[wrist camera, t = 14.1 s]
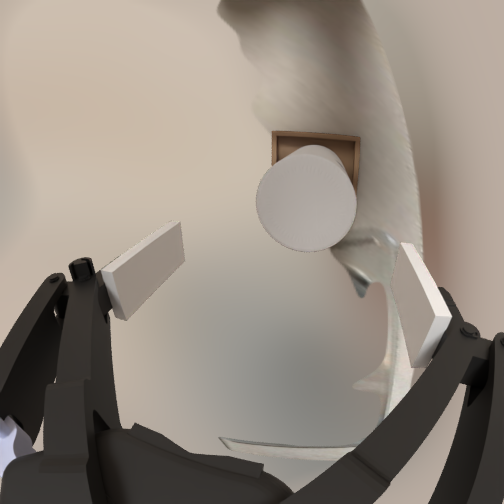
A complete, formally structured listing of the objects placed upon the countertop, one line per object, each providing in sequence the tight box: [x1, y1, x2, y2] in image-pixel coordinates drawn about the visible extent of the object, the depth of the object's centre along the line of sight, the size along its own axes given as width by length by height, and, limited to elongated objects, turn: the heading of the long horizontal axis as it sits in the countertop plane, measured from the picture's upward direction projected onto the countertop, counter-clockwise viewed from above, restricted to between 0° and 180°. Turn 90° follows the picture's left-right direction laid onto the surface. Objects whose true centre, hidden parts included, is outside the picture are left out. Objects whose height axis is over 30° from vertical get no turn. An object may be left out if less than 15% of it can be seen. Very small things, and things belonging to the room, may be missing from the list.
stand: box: [272, 131, 360, 195], centre depth 43 cm, size 14×14×2 cm
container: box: [256, 145, 357, 252], centre depth 35 cm, size 10×10×20 cm
